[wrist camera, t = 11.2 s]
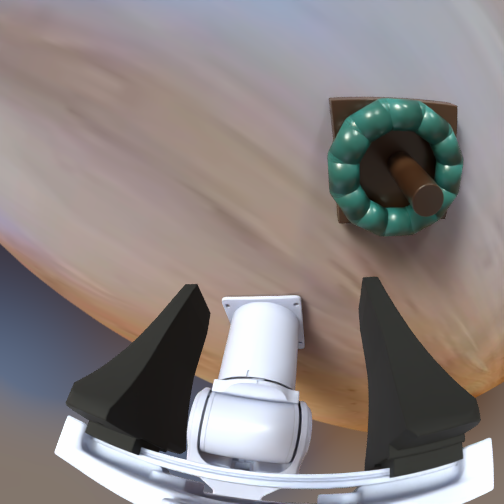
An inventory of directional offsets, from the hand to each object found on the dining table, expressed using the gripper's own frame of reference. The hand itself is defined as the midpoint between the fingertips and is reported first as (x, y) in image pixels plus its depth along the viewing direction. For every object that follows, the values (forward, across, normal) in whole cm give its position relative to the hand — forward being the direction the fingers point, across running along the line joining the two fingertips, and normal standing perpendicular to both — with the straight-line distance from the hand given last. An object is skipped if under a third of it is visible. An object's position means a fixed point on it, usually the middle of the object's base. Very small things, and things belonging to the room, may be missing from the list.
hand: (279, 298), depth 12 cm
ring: (+8, -8, -2) cm, 11 cm away
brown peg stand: (+10, -8, -2) cm, 13 cm away
